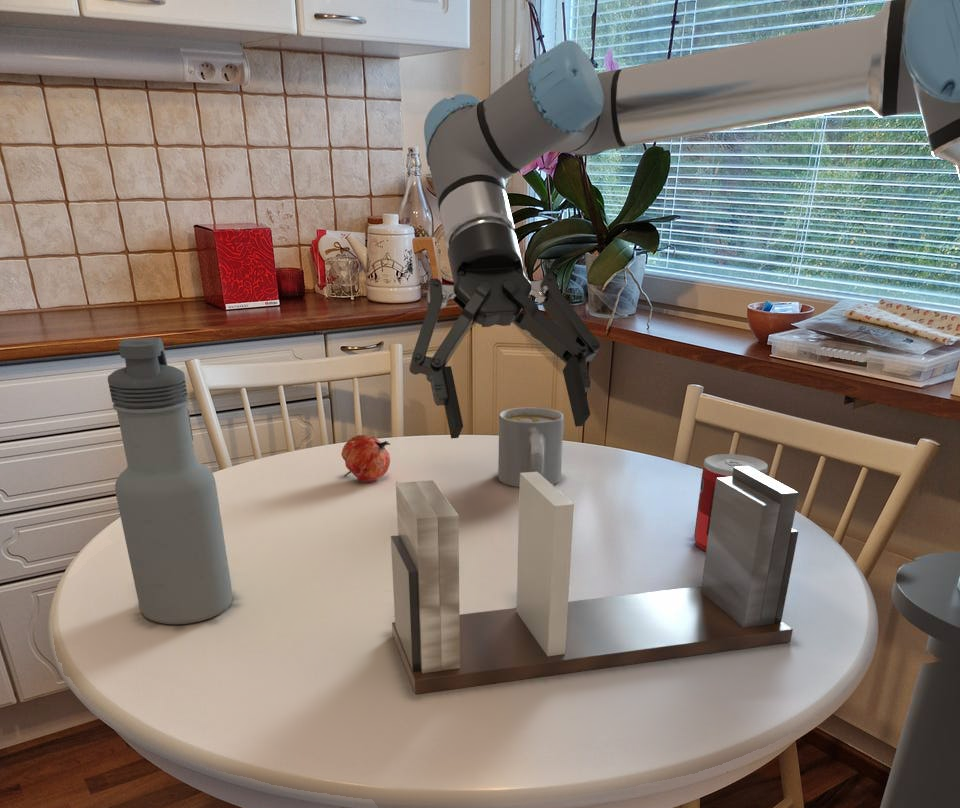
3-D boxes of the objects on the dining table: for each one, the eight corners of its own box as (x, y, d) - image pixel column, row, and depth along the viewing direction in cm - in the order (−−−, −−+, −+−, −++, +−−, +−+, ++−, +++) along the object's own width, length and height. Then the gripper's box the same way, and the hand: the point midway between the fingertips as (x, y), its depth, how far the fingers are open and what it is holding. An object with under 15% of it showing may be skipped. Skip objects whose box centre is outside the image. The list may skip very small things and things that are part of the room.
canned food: (726, 531, 114) (738, 450, 109) (767, 551, 108) (782, 467, 103) (680, 539, 111) (690, 457, 106) (720, 561, 105) (732, 475, 100)
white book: (532, 609, 89) (537, 471, 82) (565, 654, 81) (574, 504, 74) (516, 611, 89) (519, 472, 82) (547, 656, 80) (554, 506, 73)
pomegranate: (340, 499, 132) (382, 467, 126) (318, 457, 132) (358, 424, 126) (370, 491, 138) (410, 461, 132) (348, 451, 138) (388, 419, 132)
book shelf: (730, 594, 97) (752, 451, 89) (790, 642, 86) (821, 485, 79) (392, 635, 87) (384, 480, 80) (415, 694, 77) (408, 523, 69)
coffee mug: (501, 467, 140) (502, 406, 135) (561, 470, 139) (564, 408, 134) (492, 493, 128) (493, 427, 123) (558, 496, 127) (561, 429, 122)
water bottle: (144, 592, 97) (91, 334, 83) (233, 583, 99) (195, 330, 86) (137, 632, 88) (77, 351, 75) (234, 621, 90) (192, 346, 77)
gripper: (578, 259, 97) (619, 431, 93) (362, 269, 91) (397, 453, 87) (601, 214, 90) (646, 399, 86) (368, 221, 84) (406, 420, 80)
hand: (521, 426), depth 87 cm, fingers open, 13 cm apart
